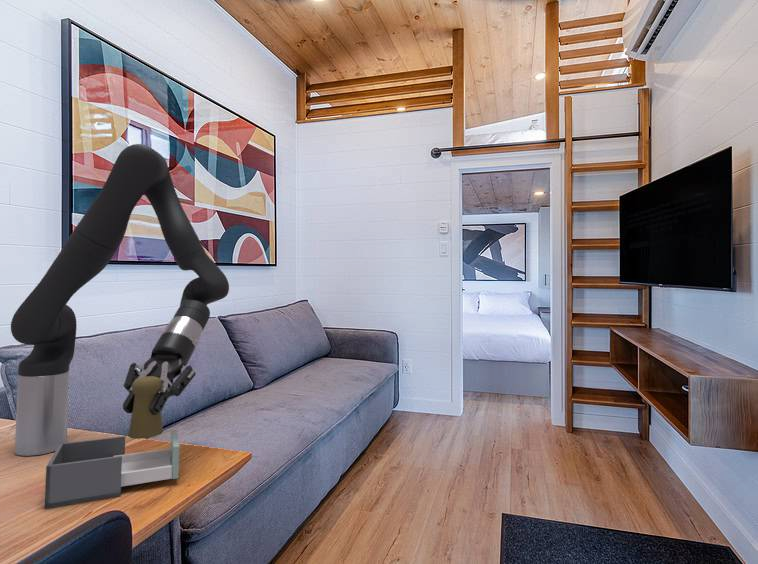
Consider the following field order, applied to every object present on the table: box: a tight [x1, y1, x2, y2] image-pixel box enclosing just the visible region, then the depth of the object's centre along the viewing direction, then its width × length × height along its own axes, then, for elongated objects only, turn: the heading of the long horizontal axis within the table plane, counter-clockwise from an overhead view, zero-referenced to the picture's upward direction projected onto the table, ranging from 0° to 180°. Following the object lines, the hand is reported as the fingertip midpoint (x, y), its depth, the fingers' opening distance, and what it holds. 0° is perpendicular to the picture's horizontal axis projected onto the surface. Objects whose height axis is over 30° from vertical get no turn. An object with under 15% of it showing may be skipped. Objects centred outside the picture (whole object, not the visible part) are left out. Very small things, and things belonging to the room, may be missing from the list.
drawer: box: [113, 429, 180, 487], centre depth 84 cm, size 11×11×6 cm
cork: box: [128, 376, 164, 440], centre depth 85 cm, size 6×6×11 cm
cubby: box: [44, 435, 126, 510], centre depth 80 cm, size 11×12×7 cm
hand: (139, 411), depth 83 cm, fingers closed on cork, 4 cm apart
